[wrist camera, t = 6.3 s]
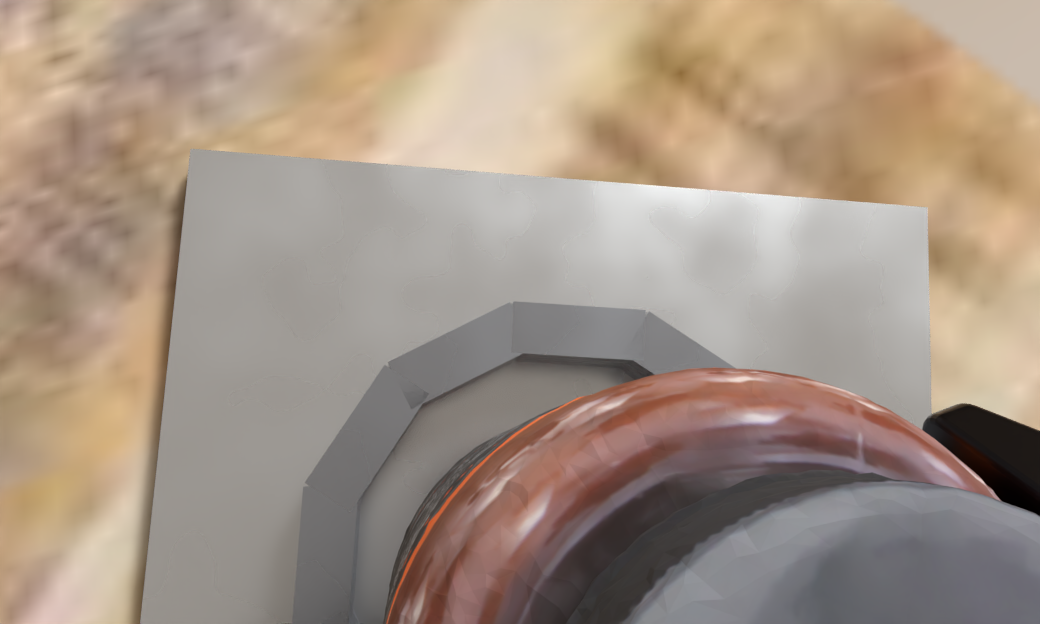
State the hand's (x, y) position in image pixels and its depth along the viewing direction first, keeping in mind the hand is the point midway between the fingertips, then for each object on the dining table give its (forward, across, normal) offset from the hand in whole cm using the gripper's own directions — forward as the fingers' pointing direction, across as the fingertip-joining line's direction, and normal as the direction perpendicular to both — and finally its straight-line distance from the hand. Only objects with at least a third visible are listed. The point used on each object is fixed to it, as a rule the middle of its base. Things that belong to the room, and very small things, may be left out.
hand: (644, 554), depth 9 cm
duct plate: (+8, 0, +9) cm, 12 cm away
